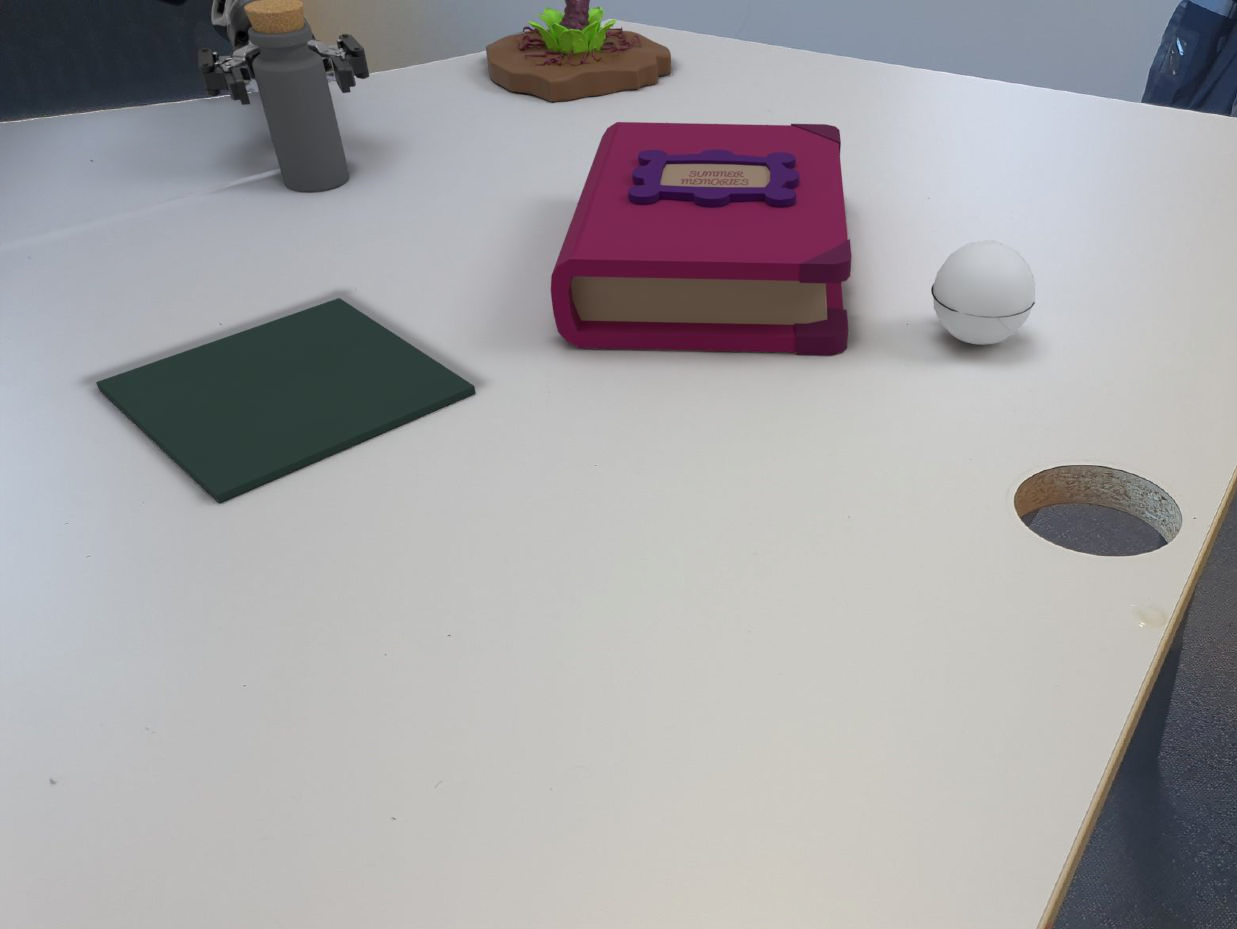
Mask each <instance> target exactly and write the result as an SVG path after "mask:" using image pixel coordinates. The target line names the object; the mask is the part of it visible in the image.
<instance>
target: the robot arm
mask: <svg viewBox="0 0 1237 929" xmlns="http://www.w3.org/2000/svg"><path fill="white" fill-rule="evenodd" d="M156 1H157V2H160V3H162V4H166V5H169V6H174V7H181V6H184V5H186V4H187V2H188V1H189V0H156ZM254 1H258V0H213V1H212V2H213V3H212V7H211V14H210V15H211V18H210V19H211V20H210V21H211V25H212V28H213V30H214V31H215V32H216V33H217V34H218V35H219V36H220V37H221V38H222V39H223V40H225V41H226V42H228V43H229V44H230V45H231V48H232V49H231V51H230V53H229V55H222V56H221V55H220V56H219V54H218V52H217V51H213V49H212V48H207V47H202V48H200V49H198V50H197V63H198V64H197V65H198V70H199V72H200V74H201V77H202V81H203V85H204V89H205V93H206V95H207V96H211V97H217V96H219V95H221V94H222V90H223V91H227V92H228V95H229V96H230V99H231V100H232V101H235V102H236V101H240V104H241V106H248V105H251V101H250V98H249V93H248V92H253V93H259V89H258V86H257V82H256V78H255V74H254V70H253V61H254V59H255V58H256V57H257V56H258V55H259V54H261V53H260V49H259V46H256V45H254V44H252V43H251V41H250V38H249V34H248V30H249V29H250V28H251V27H252V24H251V22H250V20H249V18H248V16H247V14H246V12H245V9H244V7H245V6H246V5H247V4H249V3H251V2H254ZM304 23H307V24H309V23H308V20H307V19H306V18H305V17H304ZM312 35H313V38H312V39H311V40H310V41H309V42H307V44H308V48H309V49H310V50H312V51H314V52H316V53H317V54H319V55H320V56H321V58H322V60H323V64H324V68H325V72H326V76H327V80H328V84H329V83H331V82H336V84H337V86H338V88H339V90H340V91H341V94H347V93H351V88H353V87H356V85H357V83H356V78H357V79H360V80H365V79H367V78H370V72H369V67H368V61H367V57H366V52H365V47H364V46H362V45H361V44H360V42H358V41H357V39H356V38H355V37H354V36H353V35H352V34H350V33H349V34H348V33H342V34H340V35H338V39H336V44H329V45H328V44H327V43H326V42H324V41H322V40H319V39H316V37H315V35H314V33H313V32H312Z"/></svg>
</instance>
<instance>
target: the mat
mask: <svg viewBox="0 0 1237 929" xmlns="http://www.w3.org/2000/svg"><path fill="white" fill-rule="evenodd" d="M95 383H96V386H97V389H98V390H99V391H100V392H101V393H102V395H104V396H105V397H107V398H108V400H109V401H110V402H112V403H113V405H115V406H116V407H117V408H118V409H119V410H120V411H121V412H122V413H123V414H124V415H125V416H126V417H128V418H129V419H130V420H131V421H132V422H133V423H134V424H135V425H136V426H137V428H140V430H141V431H142V432H144V434H145V435H147V436H148V437H149V439H151V440H152V441H153V442H154V443H155V444H156V445H157V446H158V447H159V448H160V449H161V450H163V451H164V453H166V454H167V455H168V456H169V458H170V459H172V460H173V461H174V463H176V464H177V465H178V466H179V467H181V468H182V469H183V471H185V472H186V473H187V474H188V475H189V476H190V477H191V478H192V479H193V480H194V481H195V482H196V483H197V484H199V485H200V487H202V488H203V489H204V490H205V491H206V492H207V493H208V494H209V495H210V496H211V497H212V498H213V499H214V500H215V501H217V502H218V503H219V504H221V503H223V502H225V501H228V500H231V499H232V498H235V497H237V496H239V495H242V494H244V493H246V492H249V491H251V490H254V489H255V488H257V487H260V486H262V485H265V484H267V483H269V482H272V481H275V480H276V479H279V478H281V477H283V476H286V475H288V474H290V473H293V472H296V471H297V470H300V469H302V468H304V467H306V466H308V465H309V466H310V465H312V464H314V463H317V462H319V461H321V460H324V459H326V458H328V457H330V456H333V455H335V454H337V453H339V452H342V451H344V450H347V449H349V448H351V447H353V446H355V445H358V444H361V443H363V442H365V441H369V440H370V439H372V438H375V437H377V436H380V435H381V434H383V433H386V432H388V431H391V430H394V429H396V428H398V427H400V426H403V425H405V424H408V423H409V422H411V421H414V420H416V419H419V418H421V417H423V416H425V415H429V414H431V413H433V412H435V411H438V410H440V409H442V408H445V407H447V406H449V405H451V404H454V403H456V402H458V401H460V400H463V399H465V398H467V397H470V396H473V395H475V394H476V393H477V392H476V388H475V385H474V384H472V383H471V382H469V381H467V380H466V379H464V378H463V377H462V376H460V375H458V374H457V373H455V372H454V371H452V370H451V369H449V368H447V366H444V365H443V364H442V363H440V362H439V361H437V360H435V359H434V358H432V357H431V356H430V355H428V354H427V353H425V352H423V351H422V350H420V349H419V348H417V347H415V346H414V345H412V344H411V343H410V342H408V341H406V339H405V340H404V339H403V338H401V337H400V336H398V335H396V334H395V333H394V332H392V331H391V330H389V329H388V328H386V327H385V326H383V325H382V324H381V323H379V322H377V321H376V320H375V319H372V318H371V317H370V316H368V315H366V314H365V313H363V312H362V311H361V310H359V309H357V308H356V307H354V306H352V305H351V304H350V303H348V302H346V301H345V300H343V298H340V297H338V298H334V299H332V300H328V301H326V302H323V303H321V304H318V305H314V306H312V307H308V308H306V309H303V310H300V311H298V312H294V313H291V314H289V315H285V316H282V317H280V318H277V319H274V320H271V321H268V322H265V323H263V324H260V325H257V326H254V327H251V328H248V329H246V330H245V329H244V330H243V331H240V332H237V333H234V334H231V335H228V336H225V337H223V338H219V339H217V340H214V341H211V342H208V343H204V344H202V345H199V346H196V347H193V348H190V349H187V350H185V351H182V352H178V353H176V354H173V355H170V356H168V357H165V358H162V359H159V360H156V361H153V362H150V363H147V364H144V365H142V366H138V367H136V368H133V369H130V370H127V371H124V372H121V373H118V374H115V375H112V376H109V377H107V378H105V379H104V378H103V379H100V380H98V381H96V382H95Z"/></svg>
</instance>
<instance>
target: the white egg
mask: <svg viewBox="0 0 1237 929" xmlns="http://www.w3.org/2000/svg"><path fill="white" fill-rule="evenodd" d="M930 291H931V295H932V297H933V309H934V312H935V314H936V317H937V318H938V321H939V322H940V324H941V325H942V327H943V328H944V329H945V330H946V331H947V332H948V333H949V334H950V335H951V336H953V337H955V338H956V339H957V340H959V341H962V342H963V343H966V344H967V343H968V344H972V345H983V346H985V345H995V344H997V343H1000V342H1003V341H1004V340H1006V339H1007V338H1009V337H1011V336H1012V335H1014V334H1016V333H1017V332H1018V331H1019V330H1020V329H1021V328H1022V326H1023V325H1024V324H1025V323H1026V321H1027V320H1028V318H1029V316H1030V315H1031V312H1032V309H1033V306H1034V305H1035V303H1036V302H1035V301H1036V282H1035V277H1034V274H1033V271H1032V269H1031V266H1030V263H1028V262H1027V260H1026V259H1025V258H1024V257H1023V256H1022V255H1021V254H1020V253H1019V251H1018V250H1017V249H1015V248H1014V247H1012V246H1010V245H1008V244H1005V243H1002V242H1000V241H995V240H979V241H973V242H968V243H966V244H963V245H962V246H961V247H959V248H958V249H957V250H954V251H953V252H952V253H950V254H949V255H948V256H947V258H946V259H945V260H944V262H943V264H942V265H941V266H940V268H939V270H938V271H937V272H936V276H935V279H934V281H933V284H932V286H931V288H930Z"/></svg>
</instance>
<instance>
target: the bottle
mask: <svg viewBox="0 0 1237 929" xmlns="http://www.w3.org/2000/svg"><path fill="white" fill-rule="evenodd" d="M244 9H245V12H246V14H247V16H248V18H249V20H250V22H251V24H252V27H251V28H250V29H249V30H248V34H249V38H250V41H251V43H252V44H254V45H256V46H259V49H260V53H261V54H259V55H258V56H257V57H256V58H255V59H254V61H253V70H254V74H255V78H256V82H257V86H258V89H259V91H258V93H259V97H260V101H261V104H262V108H263V111H264V115H265V119H266V123H267V126H268V130H269V133H270V137H271V141H272V145H273V149H274V153H275V155H276V160H277V163H278V166H279V170H280V174H281V177H282V181H283V183H284V186H285V187H287V188H288V189H289V190H293V191H296V192H303V193H304V192H305V193H306V192H307V193H311V192H312V193H313V192H322V191H328V190H332V189H335V188H338V187H340V186H342V185H344V184H346V183H347V182H348V180H349V179H350V174H349V168H348V163H347V159H346V155H345V150H344V145H343V141H342V137H341V133H340V128H339V124H338V119H337V115H336V111H335V107H334V103H333V97H332V93H331V90H330V89H331V88H330V84H329V83H328V80H327V76H326V72H325V68H324V64H323V60H322V58H321V56H320V55H319V54H317V53H316V52H314V51H312V50H310V49H309V48H308V44H307V42H309V41H310V40H311V39H312V38H313V35H314V34H313V35H312V33H313V31H312V28H311V25H310V24H309V23H308V24H307V23H304V18H305V17H304V16H305V15H304V4H303V2H302V1H301V0H258V1H254V2H251V3H249V4H247V5H246V6H245V7H244Z"/></svg>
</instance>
